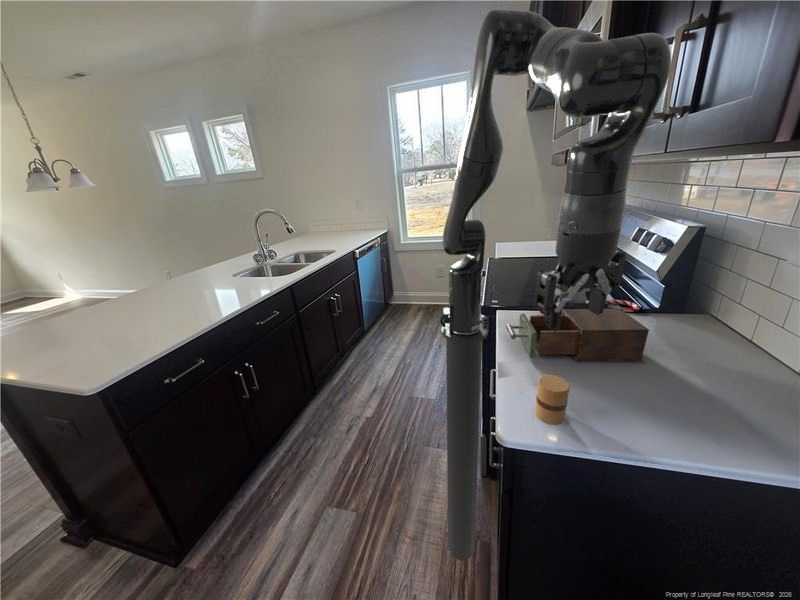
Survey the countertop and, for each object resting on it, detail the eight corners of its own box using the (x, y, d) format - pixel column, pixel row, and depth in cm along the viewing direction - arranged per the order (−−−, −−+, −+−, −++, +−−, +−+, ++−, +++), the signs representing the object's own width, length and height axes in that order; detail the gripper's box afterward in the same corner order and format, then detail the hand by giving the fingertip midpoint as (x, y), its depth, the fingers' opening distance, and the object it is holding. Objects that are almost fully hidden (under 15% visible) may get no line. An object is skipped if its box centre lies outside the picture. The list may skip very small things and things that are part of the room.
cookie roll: (539, 424, 59) (543, 392, 56) (531, 405, 64) (534, 374, 61) (569, 425, 59) (574, 392, 56) (558, 406, 63) (563, 374, 61)
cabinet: (577, 361, 78) (582, 330, 74) (558, 337, 89) (562, 309, 86) (641, 361, 76) (649, 329, 73) (613, 336, 88) (619, 308, 84)
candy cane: (585, 297, 112) (636, 300, 106) (584, 300, 112) (635, 304, 107) (587, 305, 105) (642, 309, 99) (587, 308, 106) (641, 313, 100)
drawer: (512, 356, 80) (514, 332, 77) (502, 335, 90) (504, 313, 88) (586, 356, 78) (590, 332, 75) (568, 335, 88) (571, 312, 86)
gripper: (605, 206, 48) (589, 297, 56) (526, 228, 45) (521, 322, 53) (655, 216, 42) (629, 318, 50) (567, 243, 39) (555, 347, 47)
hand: (574, 320), depth 51 cm, fingers open, 8 cm apart
